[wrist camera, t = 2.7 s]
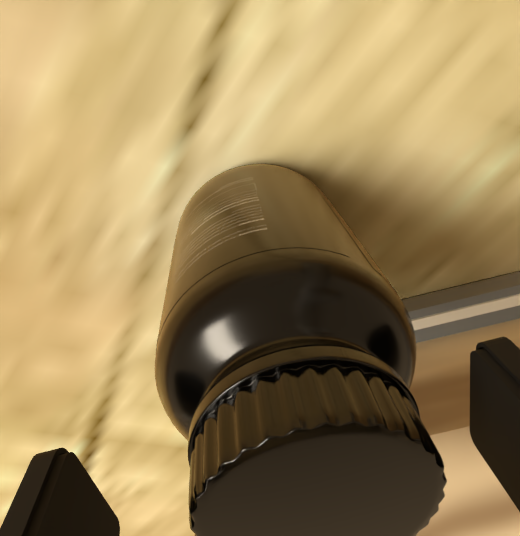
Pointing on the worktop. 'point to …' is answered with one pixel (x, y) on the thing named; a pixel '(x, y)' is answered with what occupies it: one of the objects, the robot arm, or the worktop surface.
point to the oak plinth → (461, 436)
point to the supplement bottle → (290, 369)
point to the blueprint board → (465, 307)
